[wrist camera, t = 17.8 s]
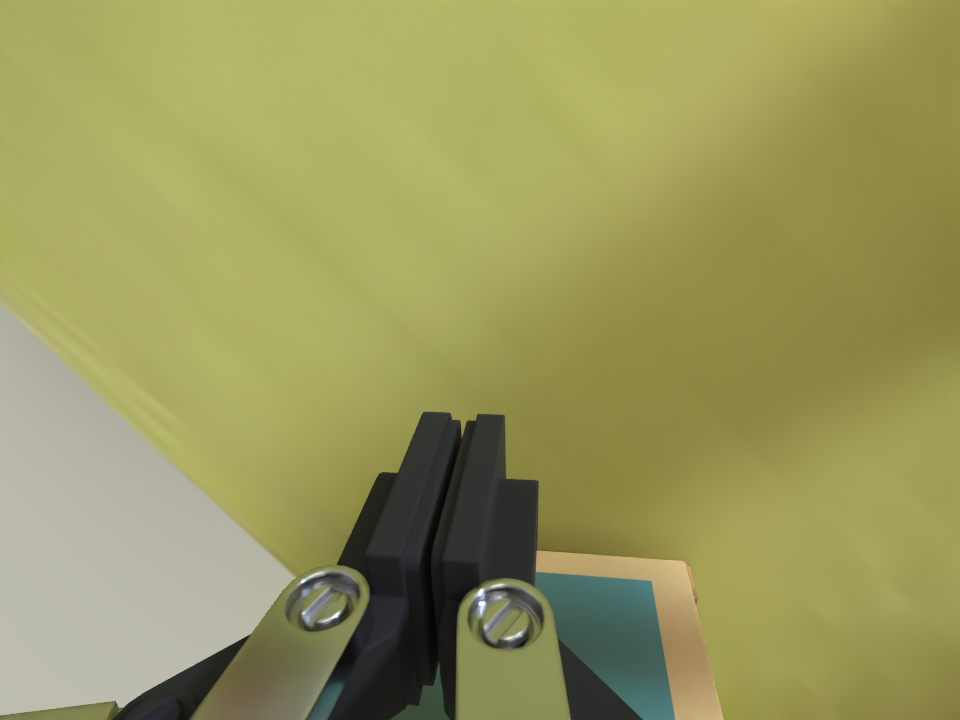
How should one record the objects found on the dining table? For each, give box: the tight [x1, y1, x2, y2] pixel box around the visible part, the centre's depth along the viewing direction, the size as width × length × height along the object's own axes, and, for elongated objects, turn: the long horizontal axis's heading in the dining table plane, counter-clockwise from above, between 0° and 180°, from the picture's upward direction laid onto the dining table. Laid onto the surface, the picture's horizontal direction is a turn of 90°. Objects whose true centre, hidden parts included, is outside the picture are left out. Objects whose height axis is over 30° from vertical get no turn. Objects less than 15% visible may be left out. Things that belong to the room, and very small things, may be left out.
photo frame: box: [391, 550, 724, 720], centre depth 20 cm, size 12×14×5 cm
